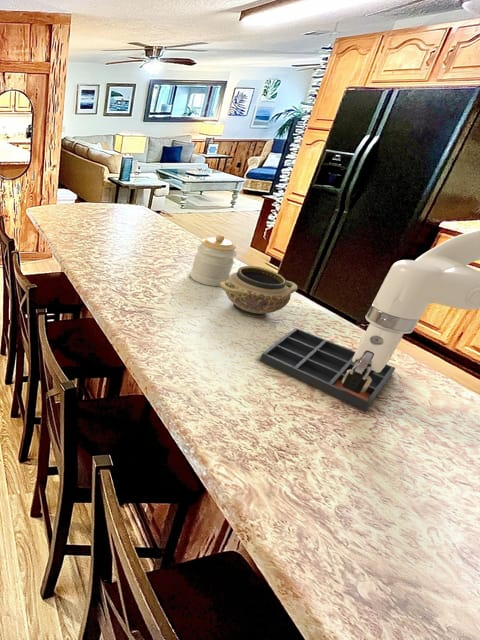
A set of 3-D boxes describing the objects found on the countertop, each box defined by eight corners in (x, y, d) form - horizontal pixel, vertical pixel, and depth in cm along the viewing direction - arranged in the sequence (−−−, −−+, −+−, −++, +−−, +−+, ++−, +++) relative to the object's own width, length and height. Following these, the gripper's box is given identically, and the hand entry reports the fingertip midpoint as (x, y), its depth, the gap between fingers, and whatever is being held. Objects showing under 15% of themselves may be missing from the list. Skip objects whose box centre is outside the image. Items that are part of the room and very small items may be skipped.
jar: (231, 289, 139) (246, 243, 132) (192, 283, 142) (204, 238, 135) (222, 274, 151) (236, 231, 143) (187, 270, 154) (198, 227, 146)
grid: (391, 375, 98) (395, 367, 96) (365, 412, 86) (370, 404, 85) (292, 334, 113) (295, 327, 112) (259, 360, 102) (262, 353, 101)
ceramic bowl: (220, 327, 121) (241, 292, 111) (197, 289, 134) (214, 255, 124) (296, 329, 121) (324, 294, 112) (266, 291, 135) (288, 257, 125)
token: (368, 387, 89) (374, 377, 88) (362, 395, 87) (368, 384, 85) (345, 376, 92) (350, 366, 91) (338, 383, 90) (344, 373, 88)
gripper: (405, 339, 74) (363, 410, 82) (424, 314, 83) (385, 380, 91) (356, 321, 79) (321, 390, 88) (379, 300, 89) (345, 363, 97)
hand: (354, 384), depth 89 cm, fingers closed on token, 4 cm apart
